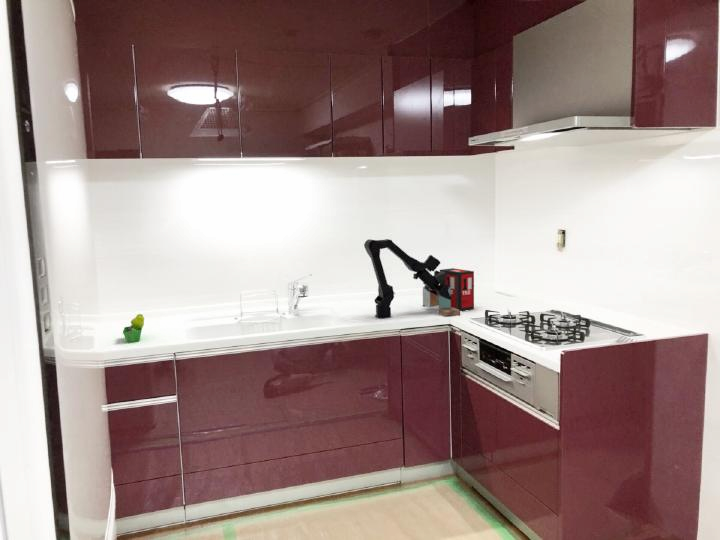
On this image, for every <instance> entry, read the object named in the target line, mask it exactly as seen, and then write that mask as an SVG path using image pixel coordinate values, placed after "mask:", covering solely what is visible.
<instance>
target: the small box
mask: <svg viewBox="0 0 720 540" xmlns="http://www.w3.org/2000/svg"><path fill="white" fill-rule="evenodd" d="M423 305H425V306H424V307H427V306H429V308H432V307H436V306H435V305H438V306H439V296H438V295H436V294H433V293H431V292H428V291H426V290H425V289H424V286H423V287H422V306H423ZM431 306H432V307H431Z"/></svg>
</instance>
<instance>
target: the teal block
mask: <svg viewBox="0 0 720 540" xmlns="http://www.w3.org/2000/svg"><path fill="white" fill-rule="evenodd" d="M448 292H449V294H450V296H451V288H450V287H449V289H448ZM442 308H451V300H449V299H446V298H444V297H442V296H439V305H438V309H442Z"/></svg>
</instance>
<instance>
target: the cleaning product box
mask: <svg viewBox="0 0 720 540" xmlns="http://www.w3.org/2000/svg"><path fill="white" fill-rule="evenodd" d="M440 271H444V272H445V273H446V275H447V278H446V279H443V280H442V281H441V283H440V284H439V285H441V284H443V283H444V284H447V285H448V286H449V287H450V288H451V298H452V299H451V308H455V309H458V310H460V311H462V312H467V311H466V310H468V311H472V310H475V272H474V270H473V271H472V270H467V269H459V268H452V267H451V268H443V269H439V272H440Z"/></svg>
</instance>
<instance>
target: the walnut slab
mask: <svg viewBox="0 0 720 540" xmlns="http://www.w3.org/2000/svg"><path fill="white" fill-rule="evenodd" d="M437 311H438V313H439V314H438V315H440V314H441V315H440V316H442V317H446V318H447V317H457V316H456V315H458V316H461V312H460V310H458V309H455V308H442V309H439V308H438V309H437Z"/></svg>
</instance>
